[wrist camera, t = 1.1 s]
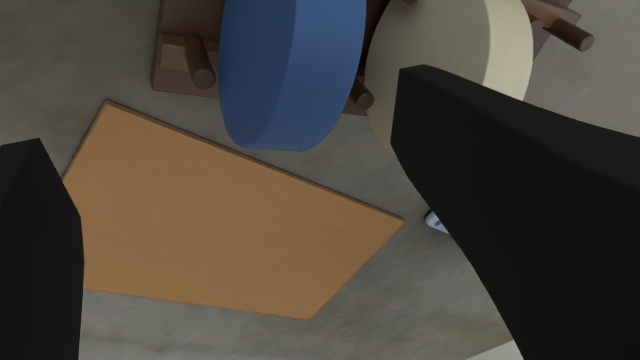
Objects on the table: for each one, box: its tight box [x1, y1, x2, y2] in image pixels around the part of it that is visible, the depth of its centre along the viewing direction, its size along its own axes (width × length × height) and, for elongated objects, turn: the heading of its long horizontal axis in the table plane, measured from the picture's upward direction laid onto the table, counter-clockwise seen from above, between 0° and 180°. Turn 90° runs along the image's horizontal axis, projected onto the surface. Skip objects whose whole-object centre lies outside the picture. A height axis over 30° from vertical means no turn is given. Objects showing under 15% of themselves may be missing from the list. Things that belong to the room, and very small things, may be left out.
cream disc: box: [364, 0, 533, 156], centre depth 17 cm, size 2×7×7 cm, turn 161°
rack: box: [150, 0, 594, 116], centre depth 19 cm, size 19×9×4 cm, turn 70°
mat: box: [61, 100, 405, 320], centre depth 27 cm, size 20×11×1 cm, turn 50°
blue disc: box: [218, 0, 366, 152], centre depth 14 cm, size 2×7×7 cm, turn 160°
